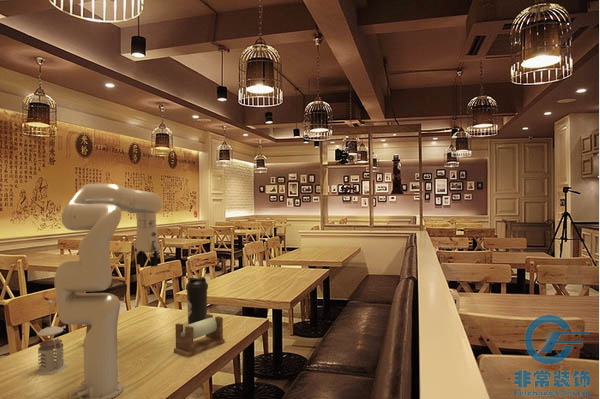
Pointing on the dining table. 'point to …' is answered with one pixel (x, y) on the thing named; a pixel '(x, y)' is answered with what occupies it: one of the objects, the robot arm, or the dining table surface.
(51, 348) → the french press
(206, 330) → the roll
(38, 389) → the dining table surface
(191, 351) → the holder
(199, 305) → the water bottle
